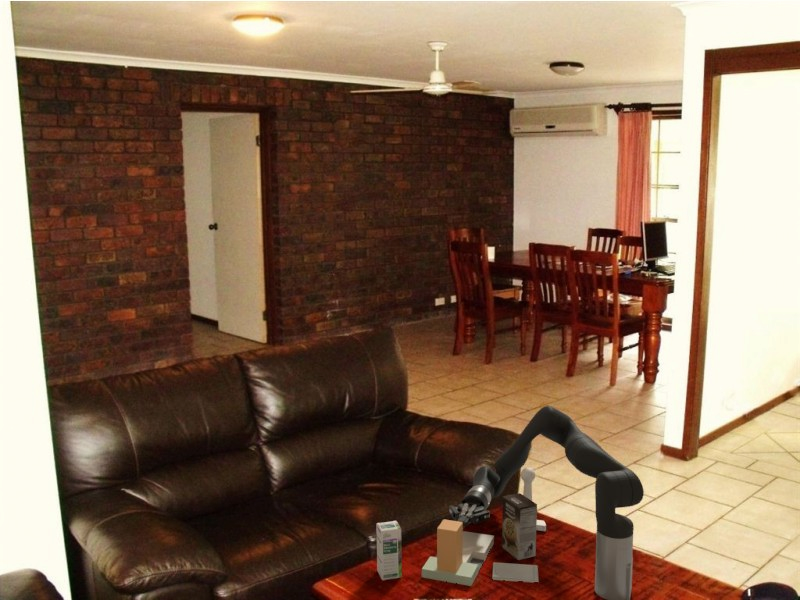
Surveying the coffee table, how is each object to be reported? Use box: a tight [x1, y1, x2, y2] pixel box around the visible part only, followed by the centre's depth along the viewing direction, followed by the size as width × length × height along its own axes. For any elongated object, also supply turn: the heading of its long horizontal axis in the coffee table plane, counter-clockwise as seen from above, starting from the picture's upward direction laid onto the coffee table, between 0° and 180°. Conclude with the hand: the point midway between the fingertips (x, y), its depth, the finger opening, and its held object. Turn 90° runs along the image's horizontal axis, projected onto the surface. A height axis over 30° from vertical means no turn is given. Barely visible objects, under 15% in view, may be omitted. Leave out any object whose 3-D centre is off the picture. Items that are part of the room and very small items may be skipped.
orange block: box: [436, 519, 464, 573], centre depth 214 cm, size 6×6×12 cm
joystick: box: [520, 467, 547, 532], centre depth 239 cm, size 11×8×20 cm
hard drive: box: [491, 561, 539, 583], centre depth 215 cm, size 2×8×12 cm
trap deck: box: [421, 530, 495, 587], centre depth 223 cm, size 14×26×2 cm, turn 160°
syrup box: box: [375, 520, 403, 581], centre depth 214 cm, size 6×6×14 cm
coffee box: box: [501, 492, 538, 561], centre depth 226 cm, size 9×6×16 cm
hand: (461, 524), depth 224 cm, fingers closed
